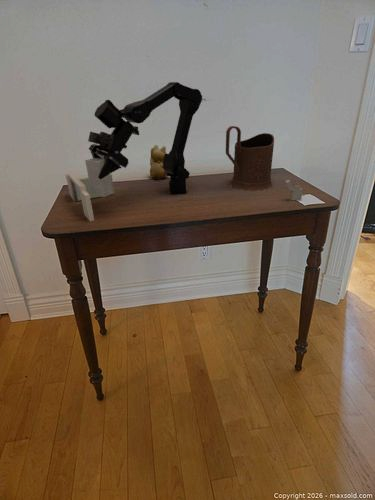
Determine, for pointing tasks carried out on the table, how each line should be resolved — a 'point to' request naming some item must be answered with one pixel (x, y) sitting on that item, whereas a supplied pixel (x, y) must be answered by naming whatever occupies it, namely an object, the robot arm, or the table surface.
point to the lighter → (294, 191)
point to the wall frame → (84, 195)
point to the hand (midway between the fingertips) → (94, 176)
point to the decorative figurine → (157, 162)
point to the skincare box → (97, 185)
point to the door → (87, 188)
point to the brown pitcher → (251, 161)
